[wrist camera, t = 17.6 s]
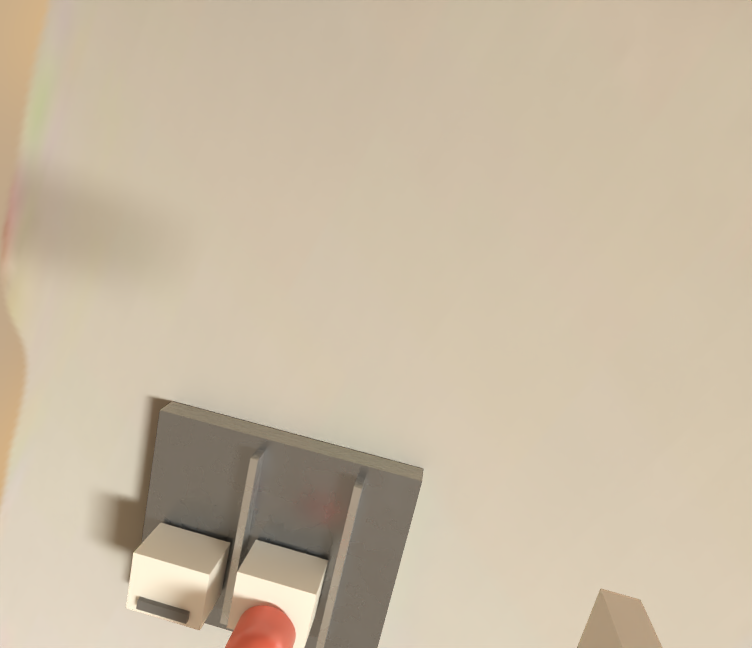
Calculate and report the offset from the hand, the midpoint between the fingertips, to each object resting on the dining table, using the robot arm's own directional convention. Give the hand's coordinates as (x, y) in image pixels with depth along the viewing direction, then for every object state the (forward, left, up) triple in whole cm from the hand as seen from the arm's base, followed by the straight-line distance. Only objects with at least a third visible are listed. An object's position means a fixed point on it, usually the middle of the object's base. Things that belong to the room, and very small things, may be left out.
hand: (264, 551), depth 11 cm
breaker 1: (+25, -12, -29) cm, 40 cm away
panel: (+22, -6, -31) cm, 38 cm away
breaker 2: (+24, -4, -29) cm, 37 cm away
